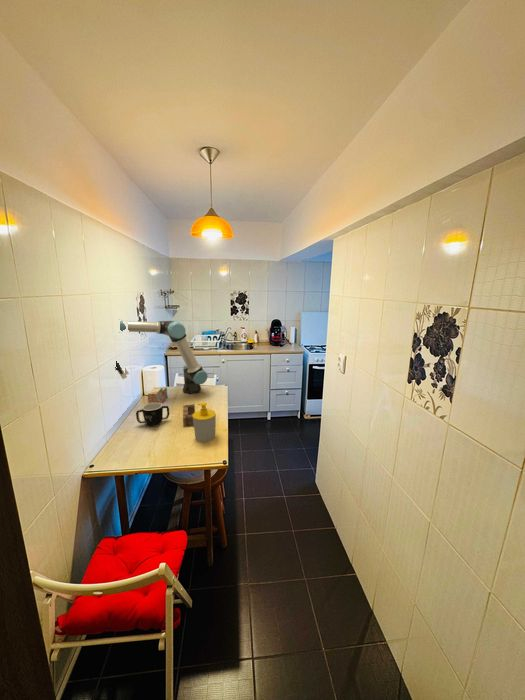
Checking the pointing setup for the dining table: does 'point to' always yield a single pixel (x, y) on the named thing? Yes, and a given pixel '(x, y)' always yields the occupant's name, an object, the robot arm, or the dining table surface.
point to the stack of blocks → (157, 395)
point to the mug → (152, 414)
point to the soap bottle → (204, 424)
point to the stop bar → (188, 415)
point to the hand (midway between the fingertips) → (126, 376)
